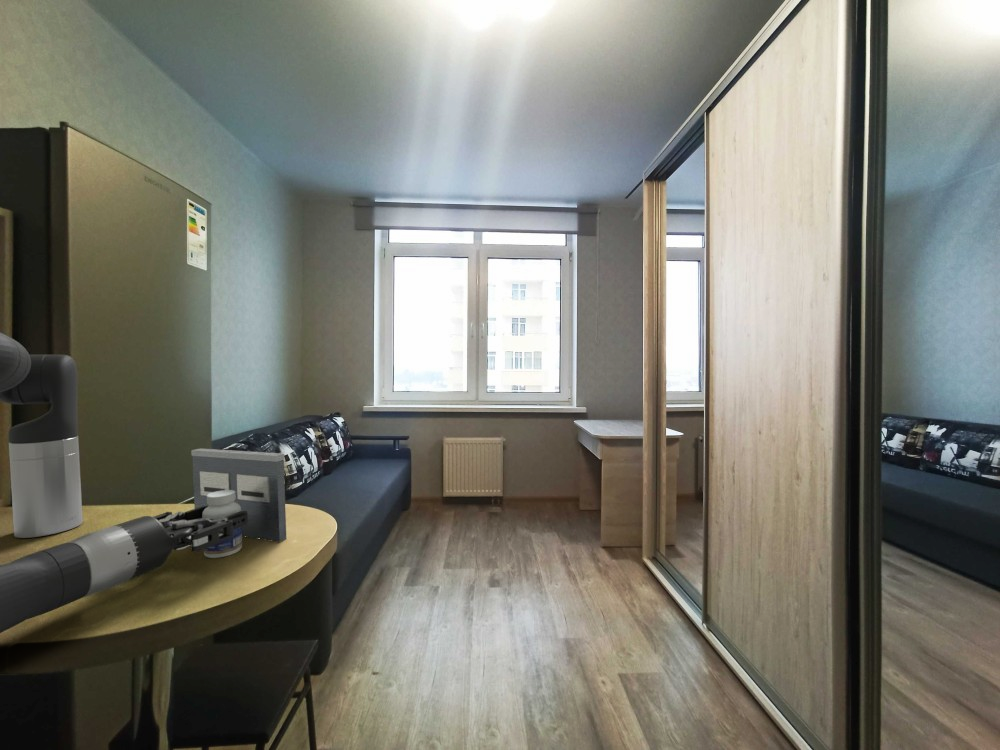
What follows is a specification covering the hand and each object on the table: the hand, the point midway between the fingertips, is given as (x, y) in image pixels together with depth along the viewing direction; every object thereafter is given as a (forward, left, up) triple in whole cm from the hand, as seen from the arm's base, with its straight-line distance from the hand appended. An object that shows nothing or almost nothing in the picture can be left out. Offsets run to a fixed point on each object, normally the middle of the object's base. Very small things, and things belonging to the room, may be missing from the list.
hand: (226, 514), depth 74 cm
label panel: (-4, +6, -6) cm, 9 cm away
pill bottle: (0, -1, -6) cm, 6 cm away
